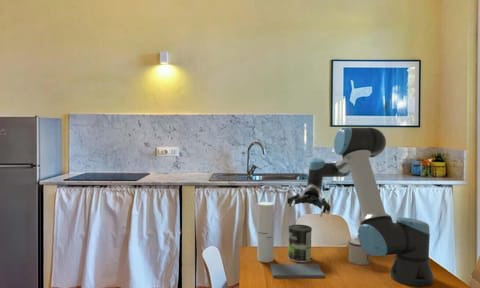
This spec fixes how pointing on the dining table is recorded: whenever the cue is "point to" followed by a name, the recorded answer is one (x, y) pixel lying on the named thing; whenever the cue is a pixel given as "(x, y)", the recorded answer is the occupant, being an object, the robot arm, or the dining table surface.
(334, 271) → the dining table surface
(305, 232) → the coffee can
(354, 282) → the dining table surface
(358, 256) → the teacup with lid
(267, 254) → the cylindrical container
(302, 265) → the slate board
